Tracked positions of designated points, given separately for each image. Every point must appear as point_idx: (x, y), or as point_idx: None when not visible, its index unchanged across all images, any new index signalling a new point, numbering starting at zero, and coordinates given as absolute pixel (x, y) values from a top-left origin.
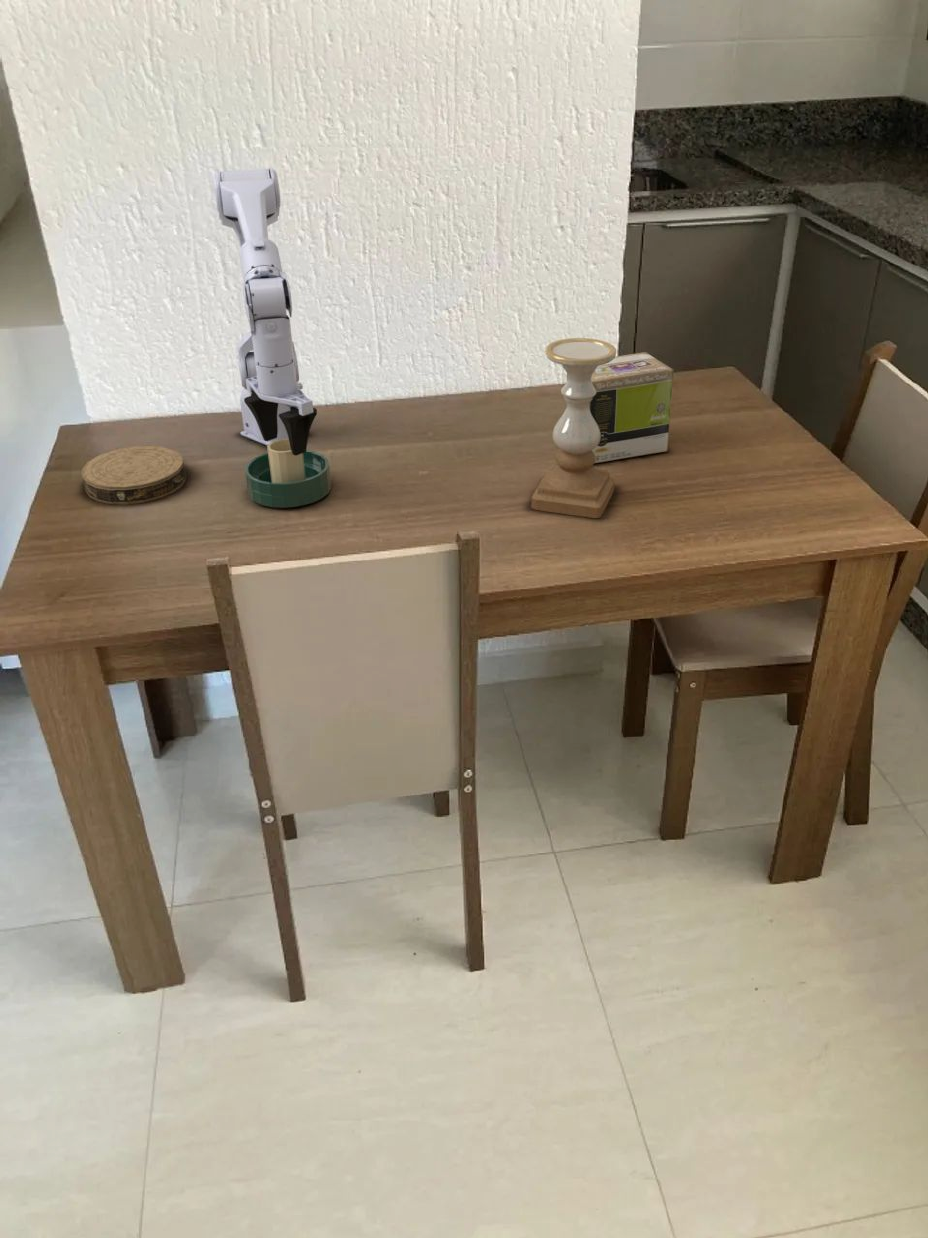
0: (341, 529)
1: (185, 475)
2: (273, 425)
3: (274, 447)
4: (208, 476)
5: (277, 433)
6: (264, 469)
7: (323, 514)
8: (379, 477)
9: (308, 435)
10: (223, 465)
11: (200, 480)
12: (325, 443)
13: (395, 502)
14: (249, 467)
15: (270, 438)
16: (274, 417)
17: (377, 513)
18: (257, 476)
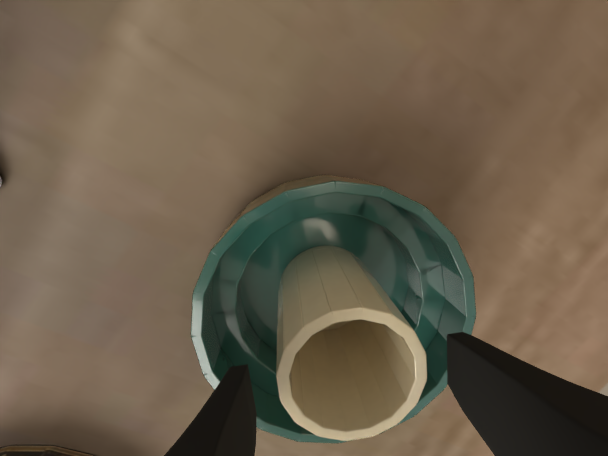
0: (576, 281)
1: (69, 451)
2: (237, 422)
3: (293, 382)
4: (104, 407)
5: (245, 372)
6: (231, 335)
7: (487, 278)
8: (416, 22)
9: (538, 369)
10: (52, 354)
11: (117, 429)
12: (49, 7)
13: (575, 89)
14: (257, 411)
15: (253, 400)
16: (226, 450)
17: (583, 168)
18: (265, 370)
